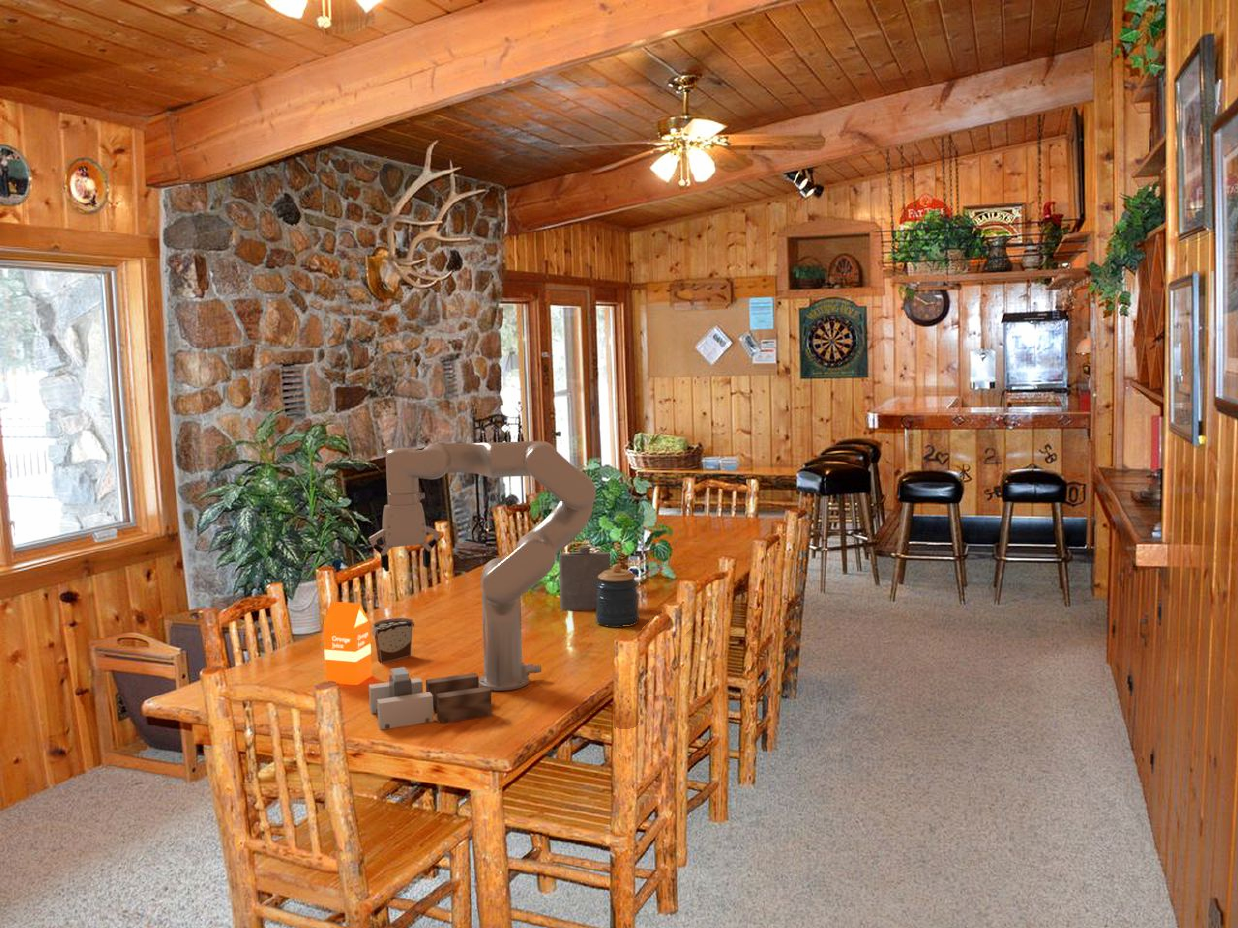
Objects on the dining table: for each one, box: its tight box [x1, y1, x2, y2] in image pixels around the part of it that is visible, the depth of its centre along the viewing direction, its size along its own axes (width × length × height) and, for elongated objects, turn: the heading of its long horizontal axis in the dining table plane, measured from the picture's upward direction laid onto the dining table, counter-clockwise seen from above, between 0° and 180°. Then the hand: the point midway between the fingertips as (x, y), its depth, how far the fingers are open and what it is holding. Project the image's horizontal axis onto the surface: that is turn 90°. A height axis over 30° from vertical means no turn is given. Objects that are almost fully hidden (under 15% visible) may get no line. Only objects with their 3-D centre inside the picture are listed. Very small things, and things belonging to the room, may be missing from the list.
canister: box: [595, 563, 640, 626], centre depth 328 cm, size 13×13×18 cm
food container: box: [371, 617, 415, 664], centre depth 297 cm, size 12×6×10 cm, turn 135°
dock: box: [368, 677, 435, 730], centre depth 253 cm, size 12×14×6 cm
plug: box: [388, 666, 412, 697], centre depth 253 cm, size 4×6×11 cm, turn 22°
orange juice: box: [323, 601, 373, 686], centre depth 279 cm, size 8×9×20 cm
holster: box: [425, 672, 493, 724], centre depth 256 cm, size 12×14×6 cm
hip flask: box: [558, 545, 611, 611], centre depth 344 cm, size 16×4×20 cm, turn 95°
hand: (406, 568), depth 268 cm, fingers open, 9 cm apart
